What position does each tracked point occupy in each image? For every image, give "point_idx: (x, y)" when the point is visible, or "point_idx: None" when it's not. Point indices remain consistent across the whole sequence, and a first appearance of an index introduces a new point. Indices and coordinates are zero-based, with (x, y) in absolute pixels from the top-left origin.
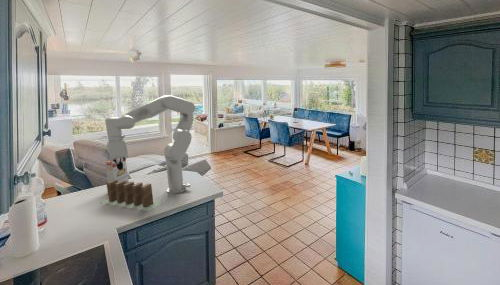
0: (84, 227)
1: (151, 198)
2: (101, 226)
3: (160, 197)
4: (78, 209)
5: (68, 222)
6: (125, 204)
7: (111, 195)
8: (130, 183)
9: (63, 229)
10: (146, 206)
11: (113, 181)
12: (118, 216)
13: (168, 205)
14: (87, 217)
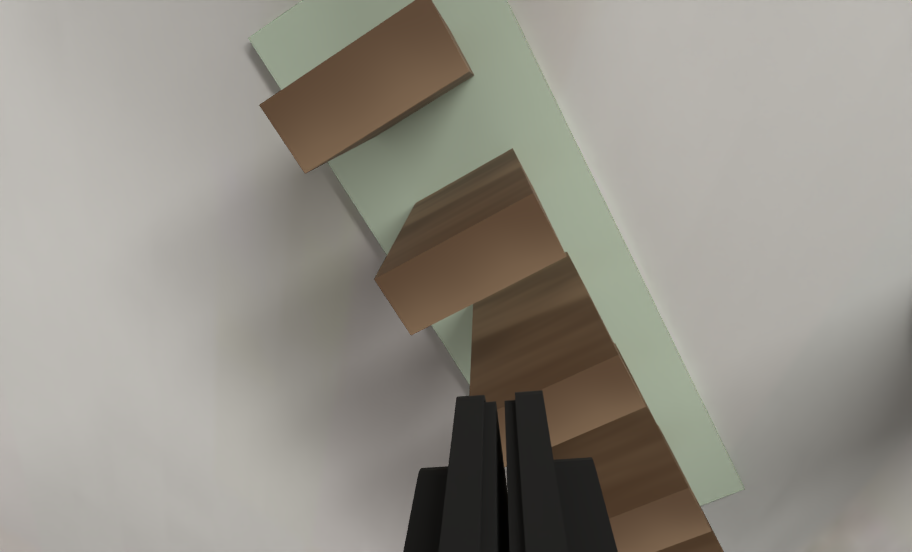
0: (140, 481)
1: None
2: (244, 538)
3: (802, 352)
4: (49, 60)
5: (14, 322)
6: (470, 305)
7: (361, 143)
8: (578, 433)
9: (4, 417)
10: None
11: (382, 124)
12: (366, 474)
13: (738, 546)
14: (149, 330)
